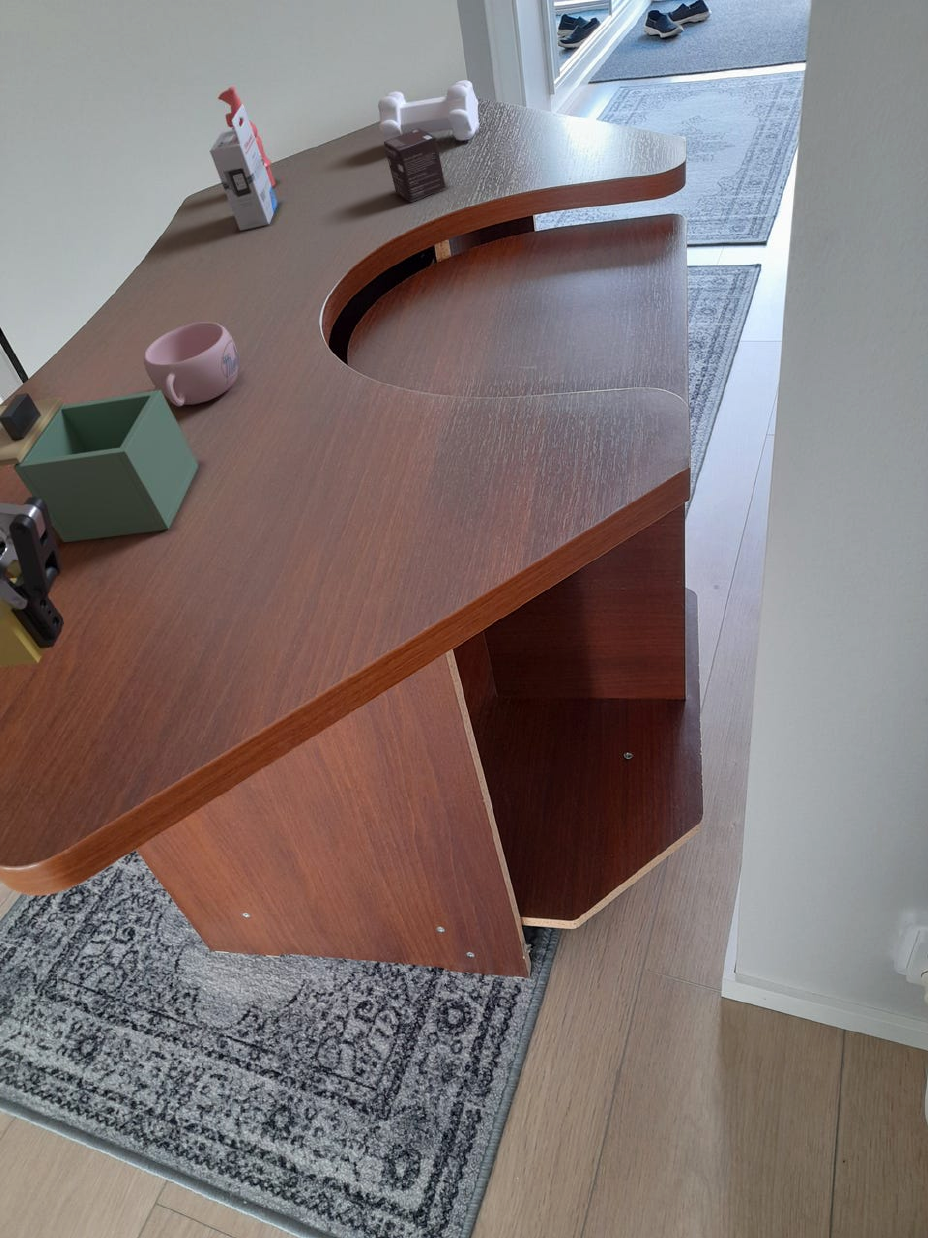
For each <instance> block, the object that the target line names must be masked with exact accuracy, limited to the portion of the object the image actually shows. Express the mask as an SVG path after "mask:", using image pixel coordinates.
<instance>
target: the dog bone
mask: <svg viewBox="0 0 928 1238" xmlns="http://www.w3.org/2000/svg"><path fill="white" fill-rule="evenodd" d="M377 107H378V112H379V113H378V114H379V128H378V129H379V131H380V133H381V134H382V136H383V138H384V141H387V140H390V139H392V138H395V137H398V136H400V135H403V134H406V133H408V132H411V131H413V130H416V129H421V130H423V131H426V132H428V133H429V134H430V133H434V132H442V131H448V130H452V132H453V136H454V138H455V140H458V141H467V140H470V139H472V138H473V137H474V135H475V134H476V133H477V132H478V131H479V129H480V122H479V108H478V107H479V99H478V98H477V96H476V94H475V91H474V88H473V83H472V82H471V81H470V80H467V79H464V80H458V81H456V82H454V83H453V85H451V86H450V87H449V88H448V89H447V91H446V95H445V96H440V97H433V98H427V99H421V100H414V101H408V102H407V100H406V98H405V95H404V94H403V92H401V91H391V92H389V93H387V94H385V96H383V97H382V98H381V99H379V101H378V103H377Z"/></svg>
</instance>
